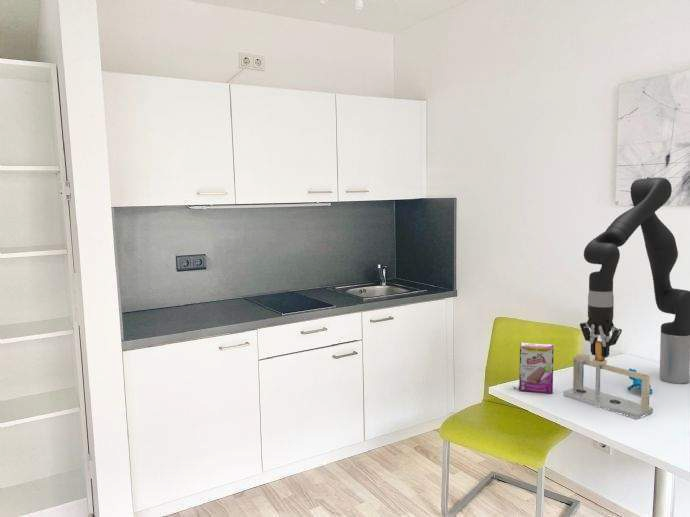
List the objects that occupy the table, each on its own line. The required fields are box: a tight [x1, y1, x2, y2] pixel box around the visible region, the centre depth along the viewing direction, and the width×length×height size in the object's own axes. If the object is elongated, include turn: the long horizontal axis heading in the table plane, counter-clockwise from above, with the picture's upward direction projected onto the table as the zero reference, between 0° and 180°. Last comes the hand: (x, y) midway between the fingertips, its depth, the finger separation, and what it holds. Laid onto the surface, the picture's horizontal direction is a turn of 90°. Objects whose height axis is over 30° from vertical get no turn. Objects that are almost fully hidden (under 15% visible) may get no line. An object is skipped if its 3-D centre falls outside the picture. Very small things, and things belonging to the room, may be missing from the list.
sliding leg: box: [592, 340, 608, 396], centre depth 172 cm, size 3×3×18 cm
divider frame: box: [563, 353, 654, 420], centre depth 169 cm, size 9×25×14 cm, turn 31°
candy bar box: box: [518, 342, 555, 394], centre depth 183 cm, size 11×5×16 cm, turn 71°
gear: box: [626, 368, 654, 395], centre depth 180 cm, size 11×6×10 cm
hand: (599, 355), depth 171 cm, fingers closed on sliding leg, 3 cm apart
